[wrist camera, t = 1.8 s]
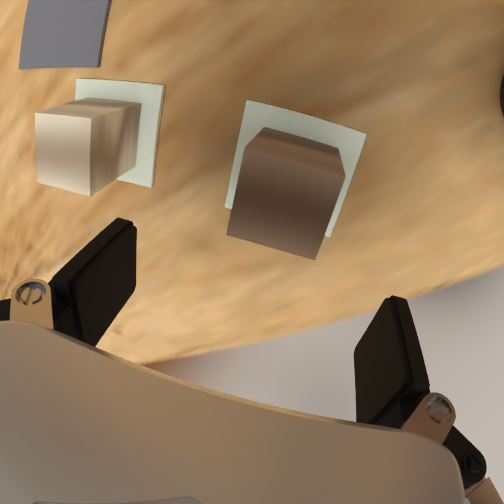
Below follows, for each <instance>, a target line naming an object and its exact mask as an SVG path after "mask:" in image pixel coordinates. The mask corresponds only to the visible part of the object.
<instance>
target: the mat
mask: <svg viewBox="0 0 504 504" xmlns="http://www.w3.org/2000/svg"><path fill="white" fill-rule="evenodd" d="M110 4H111V0H28V5H27V11H26V16H25V22H24V29H23V36H22V43H21V52H20V62H19V69H32V68H52V67H100V62H101V55H102V48H103V42H104V36H105V30H106V24H107V19H108V14H109V9H110Z"/></svg>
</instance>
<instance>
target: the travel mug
mask: <svg viewBox="0 0 504 504" xmlns="http://www.w3.org/2000/svg"><path fill="white" fill-rule="evenodd" d="M501 106H502V111H503V115H504V77H503V80H502V85H501Z"/></svg>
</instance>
